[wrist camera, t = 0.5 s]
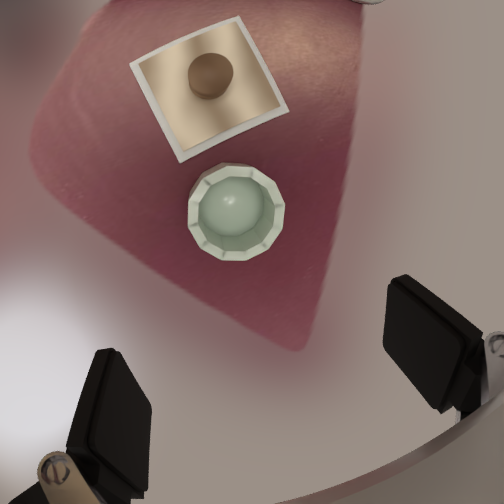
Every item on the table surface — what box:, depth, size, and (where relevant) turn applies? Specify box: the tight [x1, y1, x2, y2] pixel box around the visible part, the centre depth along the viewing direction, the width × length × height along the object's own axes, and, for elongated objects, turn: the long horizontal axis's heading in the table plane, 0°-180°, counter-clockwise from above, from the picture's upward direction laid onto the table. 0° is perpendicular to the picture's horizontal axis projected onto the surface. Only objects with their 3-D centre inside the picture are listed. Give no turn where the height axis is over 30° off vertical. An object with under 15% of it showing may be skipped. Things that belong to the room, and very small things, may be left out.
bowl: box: [188, 162, 285, 261], centre depth 31 cm, size 10×10×6 cm
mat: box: [129, 16, 289, 163], centre depth 29 cm, size 14×14×1 cm
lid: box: [138, 21, 280, 152], centre depth 26 cm, size 12×12×5 cm
